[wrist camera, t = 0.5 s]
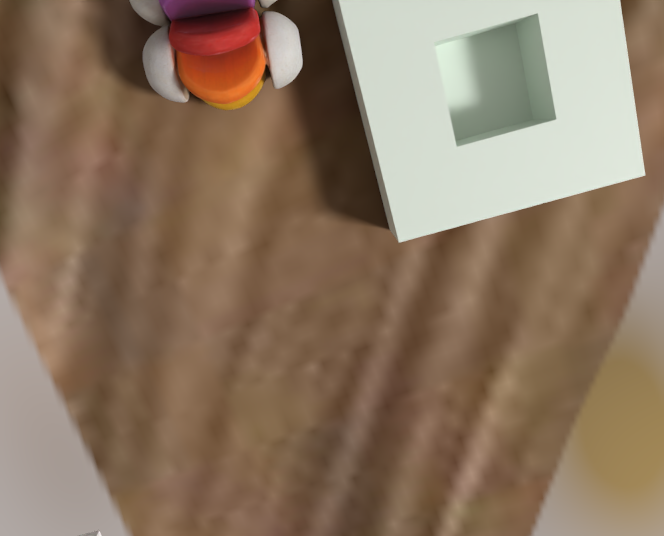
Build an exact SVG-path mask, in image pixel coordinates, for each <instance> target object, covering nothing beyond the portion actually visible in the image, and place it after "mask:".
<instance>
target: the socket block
mask: <svg viewBox="0 0 664 536" xmlns="http://www.w3.org/2000/svg"><path fill="white" fill-rule="evenodd" d="M332 2H333V6H334V10H335V14H336V18H337V22H338V26H339V30H340V34H341V38H342V42H343V46H344V50H345V54H346V58H347V62H348V66H349V70H350V74H351V78H352V82H353V86H354V90H355V94H356V98H357V102H358V106H359V110H360V114H361V118H362V122H363V126H364V130H365V134H366V138H367V142H368V146H369V150H370V154H371V157H372V161H373V165H374V169H375V173H376V177H377V181H378V185H379V189H380V193H381V197H382V201H383V205H384V209H385V213H386V217H387V221H388V225H389V229H390V231H391V232H392V234H393V235H394V236H395V238H396V239H397V240H398V242H403V241H406V240H410V239H414V238H417V237H421V236H425V235H428V234H432V233H436V232H439V231H443V230H447V229H450V228H454V227H458V226H461V225H465V224H469V223H472V222H476V221H480V220H483V219H487V218H491V217H494V216H498V215H502V214H505V213H509V212H513V211H516V210H520V209H524V208H527V207H531V206H535V205H538V204H542V203H546V202H549V201H553V200H557V199H560V198H564V197H568V196H571V195H575V194H579V193H582V192H586V191H590V190H593V189H597V188H601V187H604V186H608V185H612V184H615V183H619V182H623V181H626V180H630V179H634V178H637V177H641V176H645V171H644V164H643V157H642V150H641V143H640V136H639V129H638V122H637V115H636V108H635V101H634V94H633V87H632V80H631V73H630V66H629V60H628V53H627V46H626V39H625V32H624V25H623V18H622V11H621V4H620V0H332Z"/></svg>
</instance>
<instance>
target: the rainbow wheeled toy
mask: <svg viewBox="0 0 664 536" xmlns="http://www.w3.org/2000/svg"><path fill="white" fill-rule="evenodd" d="M129 1H130V3H131V5H132V7H133V9H134V10H135V11H136V12H137V13H138V14H139V15H140V16H141V17H142V18H143V19H145V20H147V21H148V22H150V23H152V24H154V25H160V26H162V27H161V28H160V29H158V30H157V31H156V32H154V33H153V34H152V35H151V36H150V37H149V39H148V40H147V42H146V44H145V46H144V49H143V64H144V69H145V73H146V76H147V79H148V82H149V84H150V85H151V87H152V88H153V89H154V90H155V91H156V92H157V93H158V94H160V95H161V96H163V97H164V98H166V99H169V100H171V101H175V102H187V101H188V99H189V91H190V92H191V93H192V94H194V95H195V96H197V97H198V98H201V99H202V100H203V101H204V102H206V103H207V104H209V105H210V106H213V107H215V108H218V109H222V110H233V109H238V108H241V107H243V106H245V105H246V104H248V103H249V102H251V101H252V100H253V99H254V98H255V97H256V95H257V94H258V93H259V91H260V90H261V88H262V86H263V84H264V82H265V80H266V70H265V65H266V64H267V66H268V67H269V70H270V73H271V79H272V82H273V87H274V88H275V89H279V88H281V87H284V86H286V85H287V84H289V83H290V82H292V81H293V80H294V79H295V77H296V76H297V75H298V74H299V72H300V70H301V68H302V65H303V59H302V51H301V44H300V37H299V32H298V28H297V27H296V25H295V24H294V23H293V22H292V21H291V20H290V19H288V18H287V17H285V16H284V15H282V14H280V13H277V12H272V11H264V12H263V13H262V17H261V18H260V19H259V16H258V13H257V11H256V10H255V9H254V6H255V0H129ZM258 1H259V3H260V6H261V7H263V8H264V7H266V8H267V7H269V6H270V5H271V4H273V3H274V2H276V1H277V0H258Z"/></svg>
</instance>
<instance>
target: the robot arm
mask: <svg viewBox="0 0 664 536" xmlns="http://www.w3.org/2000/svg"><path fill="white" fill-rule="evenodd" d="M79 536H101V534H100V531H96V532H91V533H88V534H83V535H79Z"/></svg>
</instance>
